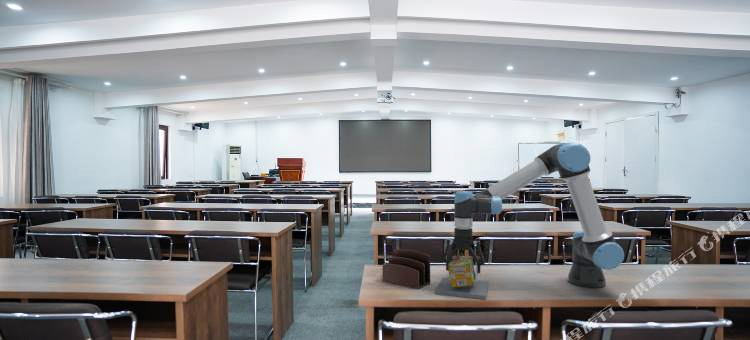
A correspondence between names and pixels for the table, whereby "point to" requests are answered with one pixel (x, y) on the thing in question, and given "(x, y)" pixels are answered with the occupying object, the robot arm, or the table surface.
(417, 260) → the letter holder
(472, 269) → the chalk box
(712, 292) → the table surface
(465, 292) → the mat
